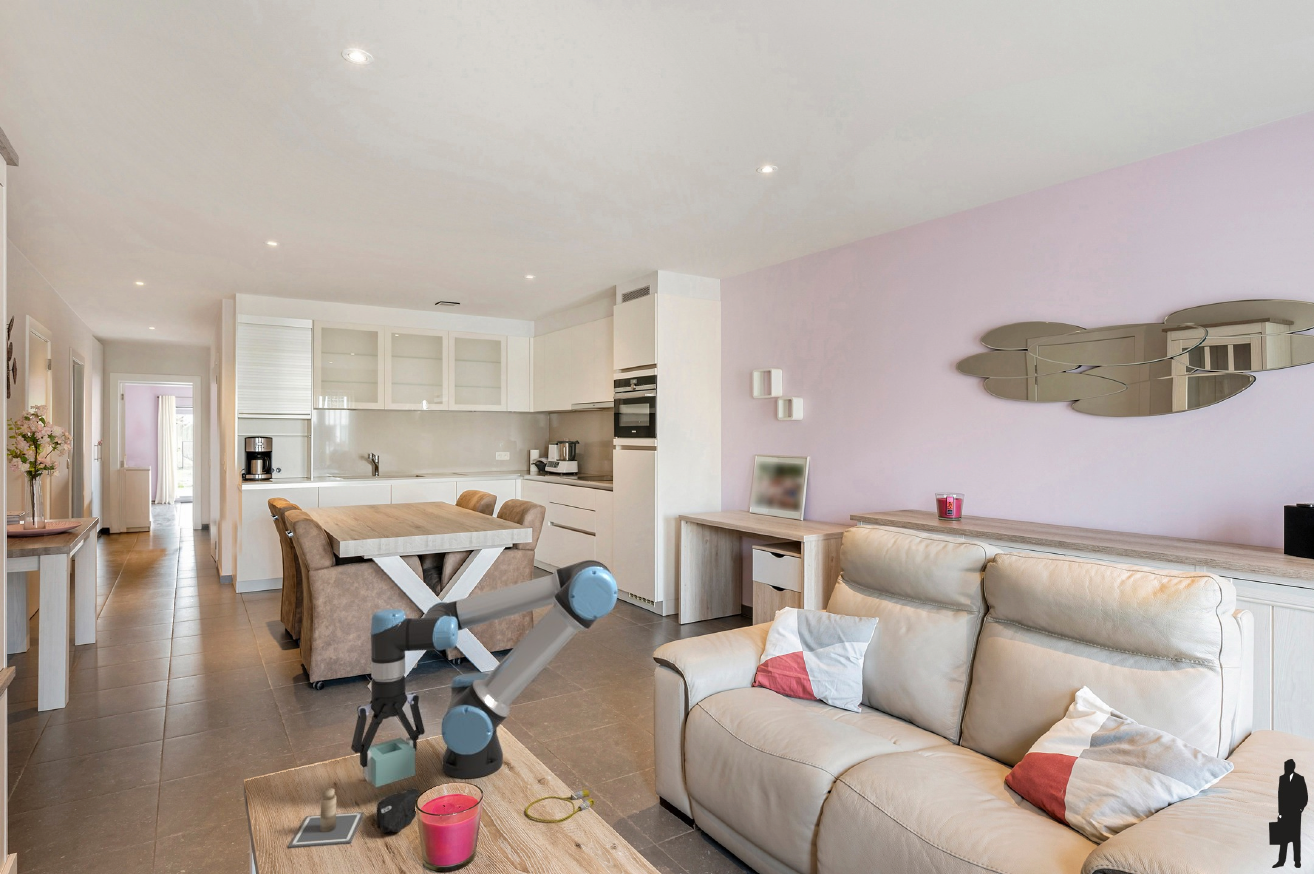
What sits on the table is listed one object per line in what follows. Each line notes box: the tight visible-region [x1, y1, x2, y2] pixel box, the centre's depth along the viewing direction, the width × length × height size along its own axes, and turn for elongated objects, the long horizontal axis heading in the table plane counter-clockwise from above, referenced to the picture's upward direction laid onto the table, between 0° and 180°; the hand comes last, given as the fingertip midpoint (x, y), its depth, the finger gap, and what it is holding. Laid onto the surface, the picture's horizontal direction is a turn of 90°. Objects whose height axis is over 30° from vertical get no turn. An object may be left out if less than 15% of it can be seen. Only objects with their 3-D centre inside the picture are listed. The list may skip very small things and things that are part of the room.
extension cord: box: [524, 789, 595, 824], centre depth 162 cm, size 12×16×2 cm
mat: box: [287, 811, 365, 849], centre depth 151 cm, size 12×12×1 cm
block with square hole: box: [362, 737, 416, 788], centre depth 166 cm, size 9×9×6 cm
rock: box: [376, 787, 419, 834], centre depth 154 cm, size 10×9×6 cm
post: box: [319, 787, 337, 832], centre depth 151 cm, size 3×3×8 cm
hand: (389, 772), depth 166 cm, fingers closed on block with square hole, 9 cm apart
